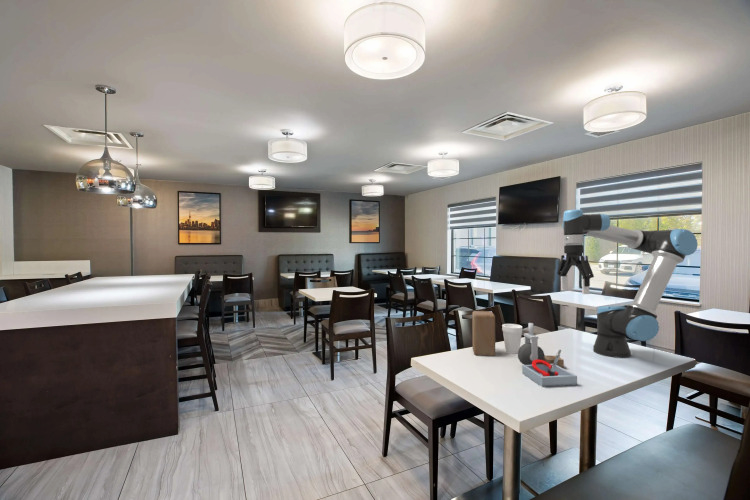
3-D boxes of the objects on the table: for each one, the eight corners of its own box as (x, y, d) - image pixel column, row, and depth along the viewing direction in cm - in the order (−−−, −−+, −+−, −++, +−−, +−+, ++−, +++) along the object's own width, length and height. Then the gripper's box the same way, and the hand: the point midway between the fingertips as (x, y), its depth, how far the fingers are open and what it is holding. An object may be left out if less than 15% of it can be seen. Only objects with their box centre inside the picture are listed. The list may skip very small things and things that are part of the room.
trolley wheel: (538, 364, 153) (537, 321, 153) (546, 368, 147) (545, 324, 147) (516, 365, 152) (516, 322, 152) (523, 369, 146) (523, 325, 146)
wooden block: (495, 356, 165) (495, 315, 165) (474, 355, 167) (473, 314, 167) (492, 350, 174) (492, 311, 174) (472, 349, 176) (472, 310, 176)
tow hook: (526, 362, 142) (542, 379, 134) (535, 337, 137) (552, 352, 129) (543, 360, 145) (559, 376, 137) (552, 335, 140) (570, 350, 132)
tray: (554, 372, 144) (554, 363, 144) (577, 385, 130) (577, 375, 130) (522, 373, 142) (522, 365, 142) (542, 387, 128) (542, 377, 128)
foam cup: (500, 352, 171) (499, 326, 171) (504, 348, 179) (504, 323, 179) (520, 355, 166) (520, 328, 166) (524, 351, 173) (524, 325, 173)
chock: (557, 364, 153) (557, 355, 153) (563, 369, 147) (563, 360, 147) (541, 364, 154) (541, 355, 154) (546, 368, 148) (546, 359, 148)
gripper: (548, 245, 165) (549, 289, 165) (586, 244, 140) (587, 296, 141) (562, 244, 166) (563, 288, 166) (603, 243, 141) (604, 295, 141)
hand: (574, 292), depth 153 cm, fingers open, 13 cm apart
